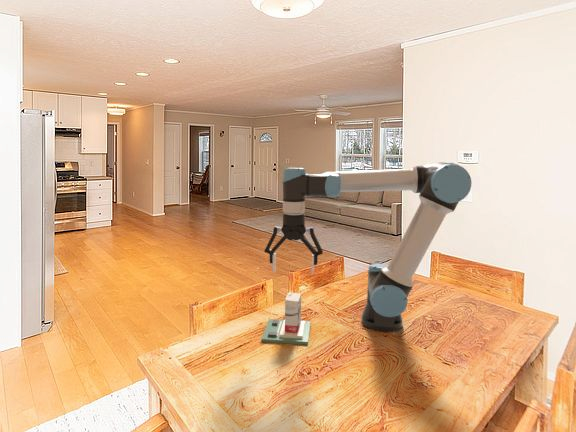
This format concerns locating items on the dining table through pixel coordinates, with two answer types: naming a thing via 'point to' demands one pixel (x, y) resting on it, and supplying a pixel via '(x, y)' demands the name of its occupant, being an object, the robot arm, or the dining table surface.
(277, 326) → the board
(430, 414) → the dining table surface
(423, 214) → the robot arm
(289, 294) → the ink box
